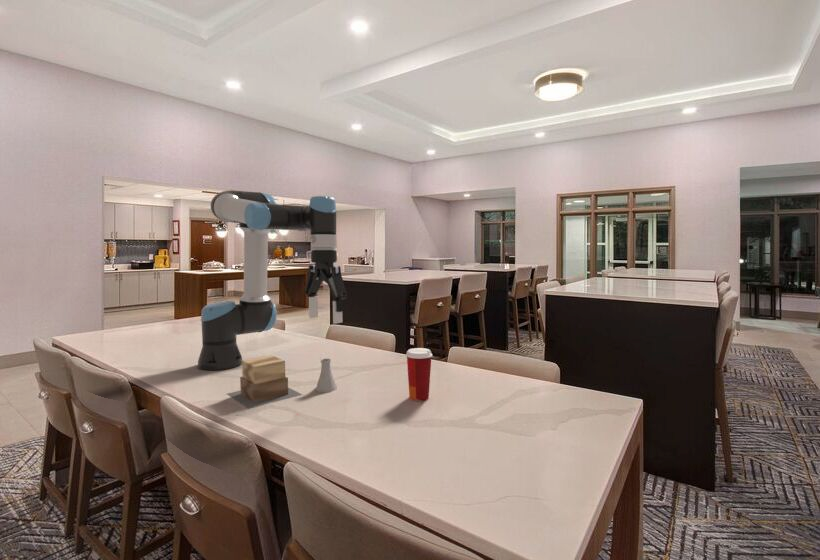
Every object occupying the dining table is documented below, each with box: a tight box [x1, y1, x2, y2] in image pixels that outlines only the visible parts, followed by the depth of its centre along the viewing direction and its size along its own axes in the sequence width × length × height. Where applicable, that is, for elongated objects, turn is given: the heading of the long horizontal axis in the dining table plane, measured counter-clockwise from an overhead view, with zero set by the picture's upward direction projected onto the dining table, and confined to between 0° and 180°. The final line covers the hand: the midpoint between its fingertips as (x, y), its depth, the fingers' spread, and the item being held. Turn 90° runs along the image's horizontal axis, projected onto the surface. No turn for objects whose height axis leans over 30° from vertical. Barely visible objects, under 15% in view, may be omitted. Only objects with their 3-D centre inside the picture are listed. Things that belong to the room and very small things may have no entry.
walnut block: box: [240, 376, 289, 403], centre depth 127 cm, size 10×10×5 cm
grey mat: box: [226, 386, 303, 409], centre depth 127 cm, size 16×16×1 cm
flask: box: [314, 358, 338, 393], centre depth 132 cm, size 7×7×10 cm
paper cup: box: [405, 347, 433, 402], centre depth 126 cm, size 8×8×14 cm
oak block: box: [241, 354, 286, 384], centre depth 126 cm, size 9×9×5 cm
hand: (325, 320), depth 130 cm, fingers open, 13 cm apart
